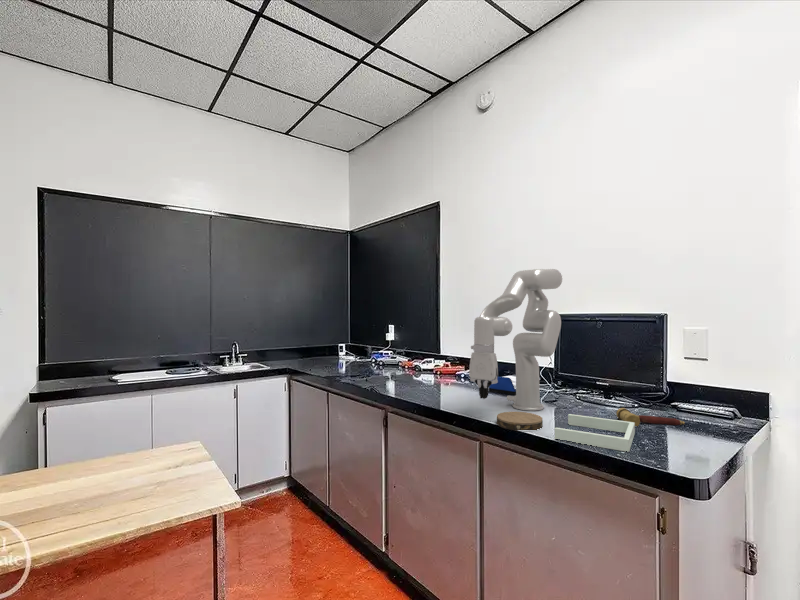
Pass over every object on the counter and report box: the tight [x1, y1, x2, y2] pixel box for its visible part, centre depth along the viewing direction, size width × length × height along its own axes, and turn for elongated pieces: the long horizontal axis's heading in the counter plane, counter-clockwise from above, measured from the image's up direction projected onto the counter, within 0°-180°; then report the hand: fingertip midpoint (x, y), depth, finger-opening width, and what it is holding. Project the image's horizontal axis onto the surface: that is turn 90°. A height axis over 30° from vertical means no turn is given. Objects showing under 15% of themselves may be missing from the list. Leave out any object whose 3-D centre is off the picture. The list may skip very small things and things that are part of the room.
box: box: [554, 413, 636, 453], centre depth 130 cm, size 21×21×4 cm
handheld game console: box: [488, 375, 516, 396], centre depth 201 cm, size 16×13×9 cm
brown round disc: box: [496, 411, 544, 432], centre depth 144 cm, size 16×16×3 cm
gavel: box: [615, 407, 686, 427], centre depth 144 cm, size 21×5×10 cm
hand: (483, 397), depth 151 cm, fingers closed
